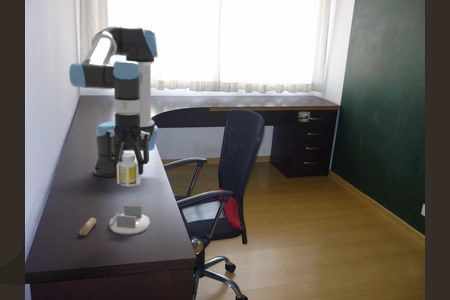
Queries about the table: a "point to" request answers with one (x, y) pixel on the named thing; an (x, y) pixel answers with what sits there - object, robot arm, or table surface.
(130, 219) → the jar holder
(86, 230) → the wick dowel
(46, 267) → the table surface
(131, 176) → the supplement bottle
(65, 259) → the table surface
